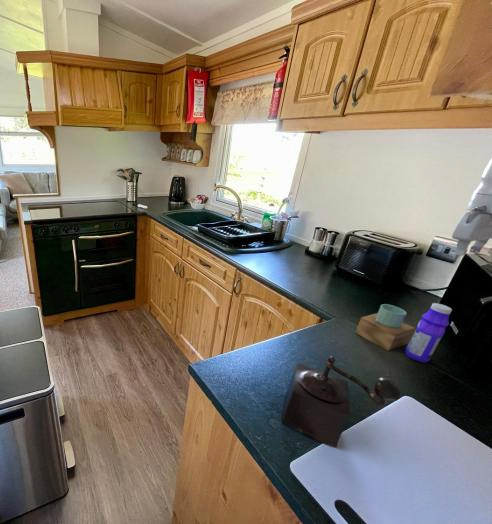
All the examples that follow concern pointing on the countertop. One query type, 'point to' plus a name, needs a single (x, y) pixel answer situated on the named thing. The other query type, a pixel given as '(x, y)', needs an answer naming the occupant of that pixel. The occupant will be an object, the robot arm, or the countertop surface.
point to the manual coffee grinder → (326, 401)
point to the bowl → (390, 315)
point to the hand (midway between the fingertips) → (466, 253)
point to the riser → (384, 333)
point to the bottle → (428, 333)
